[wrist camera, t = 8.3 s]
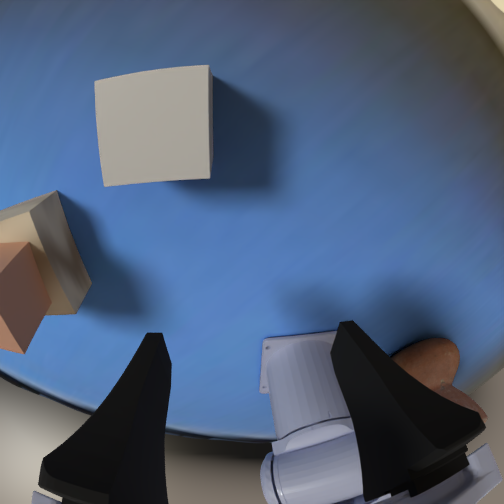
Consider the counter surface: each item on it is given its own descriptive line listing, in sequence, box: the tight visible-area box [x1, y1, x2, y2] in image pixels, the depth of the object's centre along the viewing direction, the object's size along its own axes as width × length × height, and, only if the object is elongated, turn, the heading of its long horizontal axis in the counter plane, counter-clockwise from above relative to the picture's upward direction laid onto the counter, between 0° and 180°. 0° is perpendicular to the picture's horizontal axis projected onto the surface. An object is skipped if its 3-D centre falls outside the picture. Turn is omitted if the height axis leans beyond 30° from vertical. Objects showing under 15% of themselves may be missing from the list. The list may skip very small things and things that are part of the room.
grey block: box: [95, 65, 213, 187], centre depth 12 cm, size 5×5×5 cm
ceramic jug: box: [391, 338, 488, 423], centre depth 25 cm, size 18×14×14 cm
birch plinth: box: [0, 190, 92, 315], centre depth 16 cm, size 8×8×4 cm
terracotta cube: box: [0, 242, 52, 354], centre depth 12 cm, size 5×5×5 cm
